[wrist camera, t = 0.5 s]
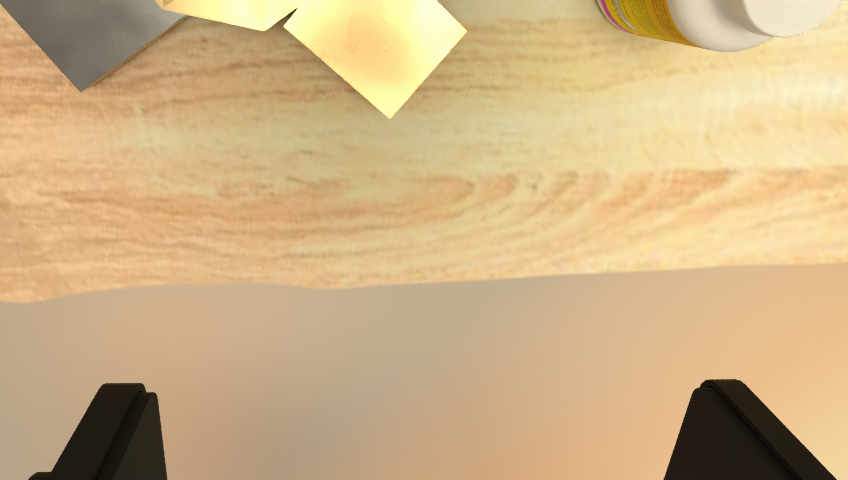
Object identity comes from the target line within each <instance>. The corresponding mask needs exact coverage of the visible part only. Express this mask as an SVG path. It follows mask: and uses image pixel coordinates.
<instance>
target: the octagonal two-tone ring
mask: <svg viewBox="0 0 848 480" xmlns="http://www.w3.org/2000/svg"><path fill="white" fill-rule="evenodd" d="M0 4H1V5H2V6H3V7H4V8H5V9H6V11H7V12H8V13H9V14H10V15H11V16H12V17H13V18H14V19H15V20H16V22H17V23H18V24H19V25H20V26H21V27H22V28H23V29H24V30H25V31H26V33H27V34H28V35H29V36H30V37H31V38H32V39H33V40H34V41H35V42H36V44H37V45H38V46H39V47H40V48H41V49H42V50H43V51H44V52H45V53H46V55H47V56H48V57H49V58H50V59H51V60H52V61H53V62H54V63H55V64H56V66H57V67H58V68H59V69H60V70H61V71H62V72H63V73H64V74H65V75H66V77H67V78H68V79H69V80H70V81H71V82H72V83H73V84H74V85H75V86H76V88H77V89H78V90H79V91H80V92H82V91H84V90H86V89H89V88H91V87H93V86H95V85H96V84H98V83H99V82H100V81H102V80H103V79H104V78H106V77H107V76H109V75H110V74H111V73H113V72H114V71H115V70H117V69H118V68H119V67H121V66H122V65H124V64H125V63H126V62H128V61H129V60H130V59H132V58H133V57H134V56H136V55H137V54H138V53H140V52H141V51H143V50H144V49H145V48H147V47H148V46H149V45H151V44H152V43H153V42H155V41H156V40H158V39H159V38H160V37H162V36H163V35H164V34H166V33H167V32H168V31H170V30H171V29H173V28H174V27H175V26H177V25H178V24H179V23H181V22H182V21H183V20H185V19H186V18H187V17H189V16H190V15H191V16H195V17H200V18H205V19H210V20H214V21H219V22H224V23H228V24H233V25H238V26H242V27H247V28H252V29H256V30H261V31H265V30H267V29H268V28H269V27H271V26H272V25H274V24H275V23H276V22H278V21H279V20H281V19H282V18H283V17H285V16H286V15H288V14H289V13H290V12H292V11H293V10H295V9H296V8H297V7H298V9H297V10H296V11H295V13H294V14H293V15H292V16H291V18H290V19H289V20H288V21H287V23H286V24H285V25H284V27H285V28H286V29H287V30H288V31H289V32H290V33H291V34H293V35H294V36H295V37H296V38H297V39H298V40H299V41H301V42H302V43H303V44H304V45H305V46H306V47H308V48H309V49H310V50H311V51H312V52H313V53H314V54H316V55H317V56H318V57H319V58H320V59H321V60H323V61H324V62H325V63H326V64H327V65H328V66H329V67H331V68H332V69H333V70H334V71H335V72H336V73H338V74H339V75H340V76H341V77H342V78H343V79H344V80H346V81H347V82H348V83H349V84H350V85H351V86H353V87H354V88H355V89H356V90H357V91H358V92H359V93H361V94H362V95H363V96H364V97H365V98H366V99H367V100H369V101H370V102H371V103H372V104H373V105H374V106H376V107H377V108H378V109H379V110H380V111H381V112H382V113H384V114H385V115H386V116H387V117H388V118H389V119H391V117H392V116H393V115H394V114H395V113H396V112H397V111H398V109H399V108H400V107H401V106H402V105H403V104H404V103H405V101H406V100H407V99H408V98H409V97H410V96H411V95H412V93H413V92H414V91H415V90H416V89H417V88H418V87H419V85H420V84H421V83H422V82H423V81H424V80H425V79H426V77H427V76H428V75H429V74H430V73H431V72H432V71H433V69H434V68H435V67H436V66H437V65H438V64H439V63H440V61H441V60H442V59H443V58H444V57H445V56H446V55H447V53H448V52H449V51H450V50H451V49H452V48H453V47H454V45H455V44H456V43H457V42H458V41H459V40H460V39H461V37H462V36H463V35H464V34H465V33H466V32H467V31H466V30H465V29H464V28H463V27H462V26H461V25H460V24H459V23H458V22H457V21H456V20H455V19H454V18H453V17H452V16H451V15H450V14H449V13H448V12H447V11H446V10H445V9H444V8H443V7H442V6H441V5H440V4H439V3H438V2H437V1H436V0H0Z"/></svg>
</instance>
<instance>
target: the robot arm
mask: <svg viewBox="0 0 848 480" xmlns="http://www.w3.org/2000/svg"><path fill="white" fill-rule="evenodd" d="M28 480H167V474H166V465H165V458H164V450H163V440H162V431H161V423H160V414H159V406H158V399H157V395H156V393H154V392H146V390H145V387H144V385H143V384H141V383H106V384H103V385H102V386H101V387H100V389H99V390H98V392H97V394H96V395H95V397H94V399H93V400H92V402H91V404H90V406H89V407H88V409H87V411H86V413H85V414H84V416H83V418H82V420H81V421H80V423H79V425H78V426H77V428H76V430H75V432H74V433H73V435H72V437H71V438H70V440H69V442H68V444H67V445H66V447H65V449H64V451H63V452H62V454H61V456H60V458H59V459H58V461H57V463H56V465H55V466H54V468H53V470H52V471H51V472H37V473H35V474H34V475H32V476H31V477H30V478H29V479H28ZM664 480H836V478H835V477H834V476H833V475H832V474H831V473H830V472H829V471H828V470H827V469H826V468H825V467H824V466H823V465H822V464H821V463H820V462H819V461H818V460H817V459H816V458H815V457H814V456H813V454H812V453H811V452H809V450H808V449H807V448H806V447H805V446H804V445H803V444H802V443H801V442H800V441H799V440H798V439H797V438H796V437H795V436H794V435H793V434H792V433H791V432H790V431H789V430H788V429H787V428H786V426H785V425H784V424H783V423H782V422H781V421H780V420H779V419H778V418H777V417H776V416H775V415H774V414H773V413H772V412H771V411H770V410H769V409H768V408H767V407H766V406H765V405H764V403H762V401H761V400H760V399H759V398H758V397H757V396H756V395H755V394H754V393H753V392H752V391H751V390H750V389H749V388H748V387H747V386H746V385H745V384H744V383H743V382H741V381H739V380H736V379H725V380H724V379H721V380H720V379H719V380H718V379H716V380H705V381H704V382H703V383H702V384H701V386H700V388H697V389H695V390H694V391H693V393H692V396H691V399H690V402H689V405H688V408H687V411H686V414H685V417H684V420H683V423H682V426H681V429H680V432H679V435H678V438H677V441H676V444H675V447H674V450H673V453H672V456H671V459H670V462H669V465H668V468H667V472H666V475H665V477H664Z"/></svg>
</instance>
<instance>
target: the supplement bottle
mask: <svg viewBox="0 0 848 480" xmlns="http://www.w3.org/2000/svg"><path fill="white" fill-rule="evenodd" d="M842 1H843V0H597V2H598V4H599V6H600V8H601V10H602V12H603V14H604V15H605V16H606V18H607V19H608V20H609V21H610V22H611V23H612V24H613V25H615V26H616V27H618V28H619V29H621V30H623V31H625V32H628V33H632V34H636V35H640V36H645V37H650V38H655V39H660V40H665V41H671V42H675V43H680V44H685V45H689V46H694V47H699V48H704V49H708V50H713V51H720V52H735V51H741V50H745V49H749V48H752V47H755V46H758V45H760V44H762V43H764V42H766V41H768V40H770V39H771V38H773V37H781V38H786V37H793V36H798V35H801V34H804V33H806V32H809V31H811V30H812V29H814V28H816V27H817V26H819V25H820V24H822V23H823V22H824V21H825V20H827V19H828V18H829V17H830V16H831V15H832V14H833V13H834V11H835V10H836V9H837V8H838V7H839V5H840V4H841V2H842Z"/></svg>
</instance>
